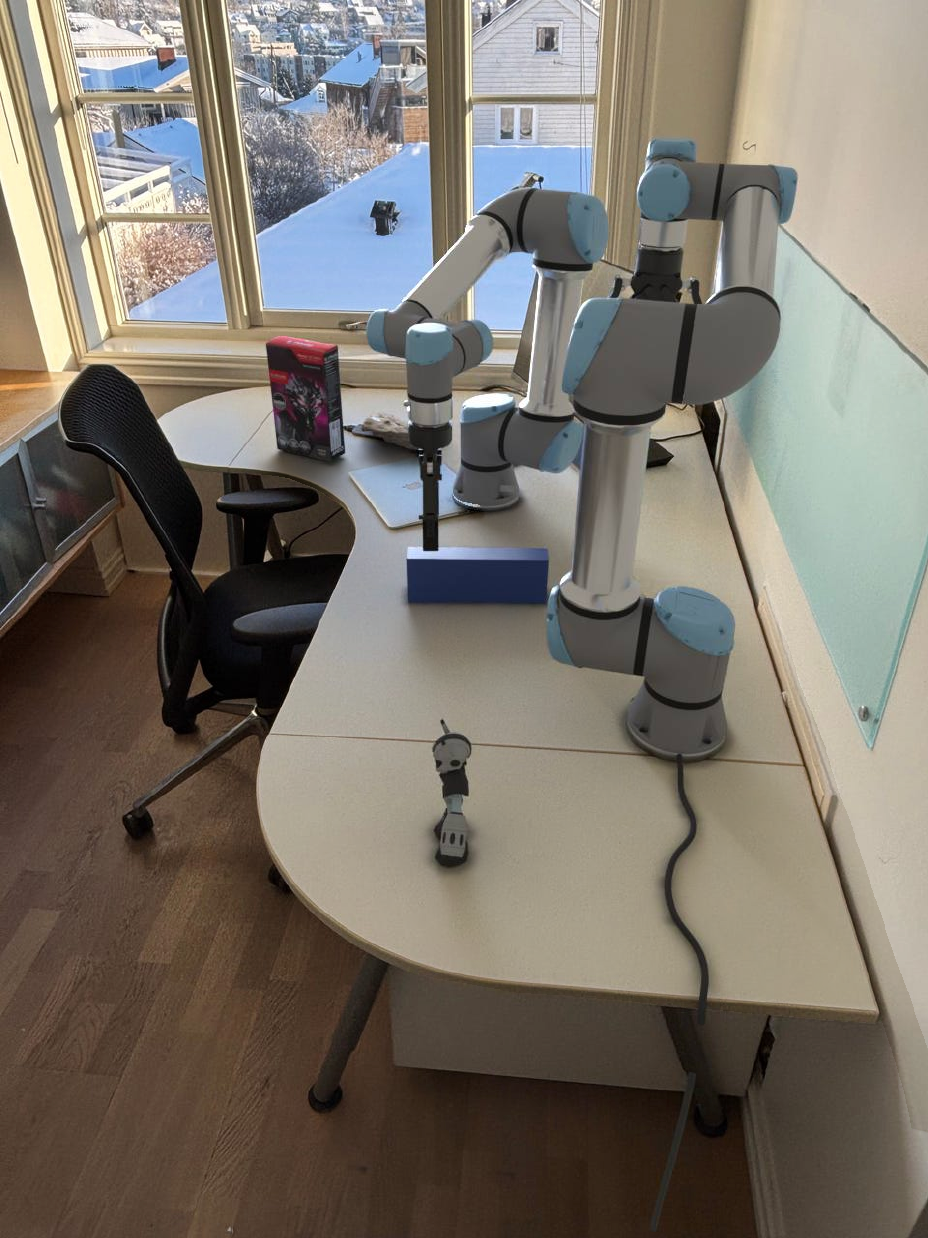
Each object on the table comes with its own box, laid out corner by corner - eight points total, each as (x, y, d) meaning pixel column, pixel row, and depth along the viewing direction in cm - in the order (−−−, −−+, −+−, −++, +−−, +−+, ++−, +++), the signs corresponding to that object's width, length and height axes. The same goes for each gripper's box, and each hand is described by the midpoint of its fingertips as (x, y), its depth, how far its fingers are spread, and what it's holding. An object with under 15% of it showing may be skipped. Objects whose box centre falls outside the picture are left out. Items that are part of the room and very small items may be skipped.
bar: (544, 591, 177) (547, 548, 171) (546, 603, 173) (549, 560, 168) (409, 589, 177) (407, 546, 171) (407, 602, 173) (406, 558, 168)
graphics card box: (274, 450, 230) (262, 341, 215) (291, 440, 235) (280, 333, 220) (331, 464, 224) (323, 352, 209) (347, 453, 229) (340, 344, 214)
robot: (474, 902, 115) (476, 785, 104) (435, 903, 115) (433, 787, 104) (466, 791, 132) (467, 679, 120) (432, 792, 131) (430, 680, 120)
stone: (345, 437, 230) (349, 413, 227) (367, 428, 243) (371, 405, 241) (423, 461, 226) (429, 437, 224) (441, 451, 239) (446, 428, 237)
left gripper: (409, 393, 165) (412, 500, 177) (405, 449, 145) (408, 566, 156) (451, 394, 165) (451, 500, 177) (452, 450, 145) (452, 566, 156)
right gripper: (734, 243, 151) (713, 370, 163) (581, 239, 152) (572, 366, 164) (743, 252, 145) (721, 384, 156) (584, 248, 146) (573, 380, 157)
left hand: (431, 531), depth 167 cm, fingers open, 13 cm apart
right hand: (644, 375), depth 160 cm, fingers open, 13 cm apart
